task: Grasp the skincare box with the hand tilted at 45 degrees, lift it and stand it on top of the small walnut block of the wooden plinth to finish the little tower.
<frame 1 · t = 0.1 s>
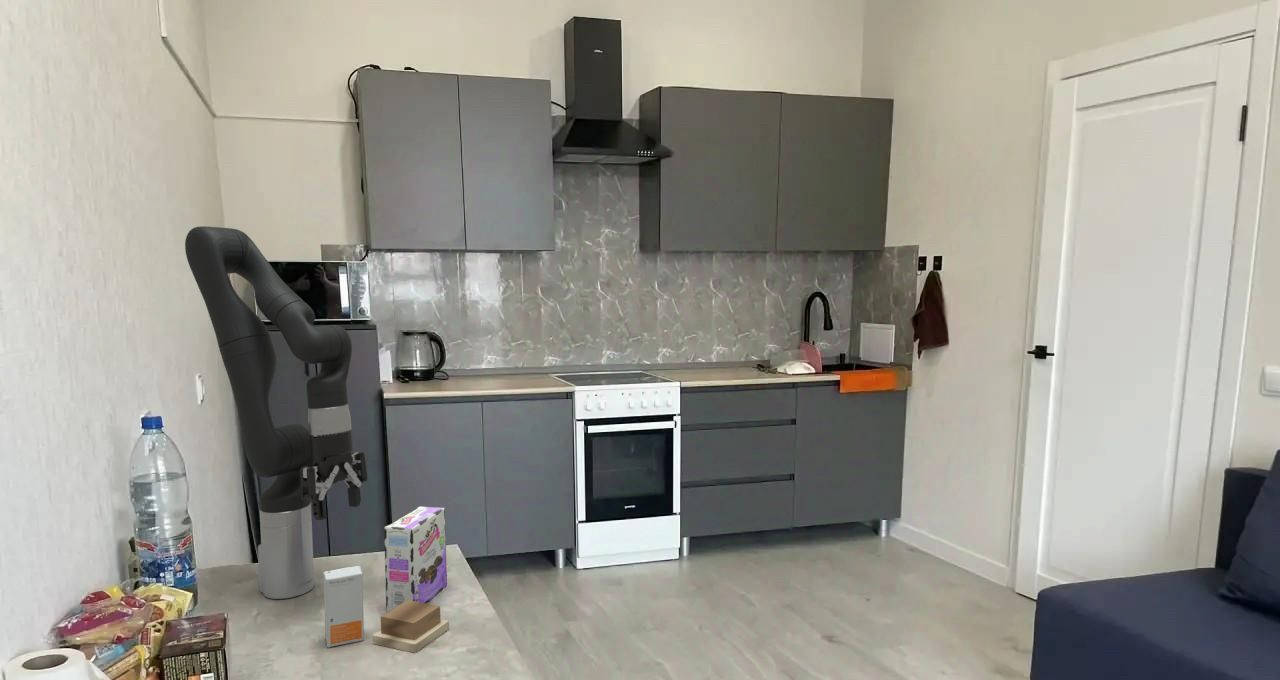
hand: (338, 512, 139), 17 cm above the table, tool pointing down, fingers open, 8 cm apart
candy box: (418, 599, 141), on the table
skincare box: (345, 640, 125), on the table
plinth: (411, 636, 126), on the table
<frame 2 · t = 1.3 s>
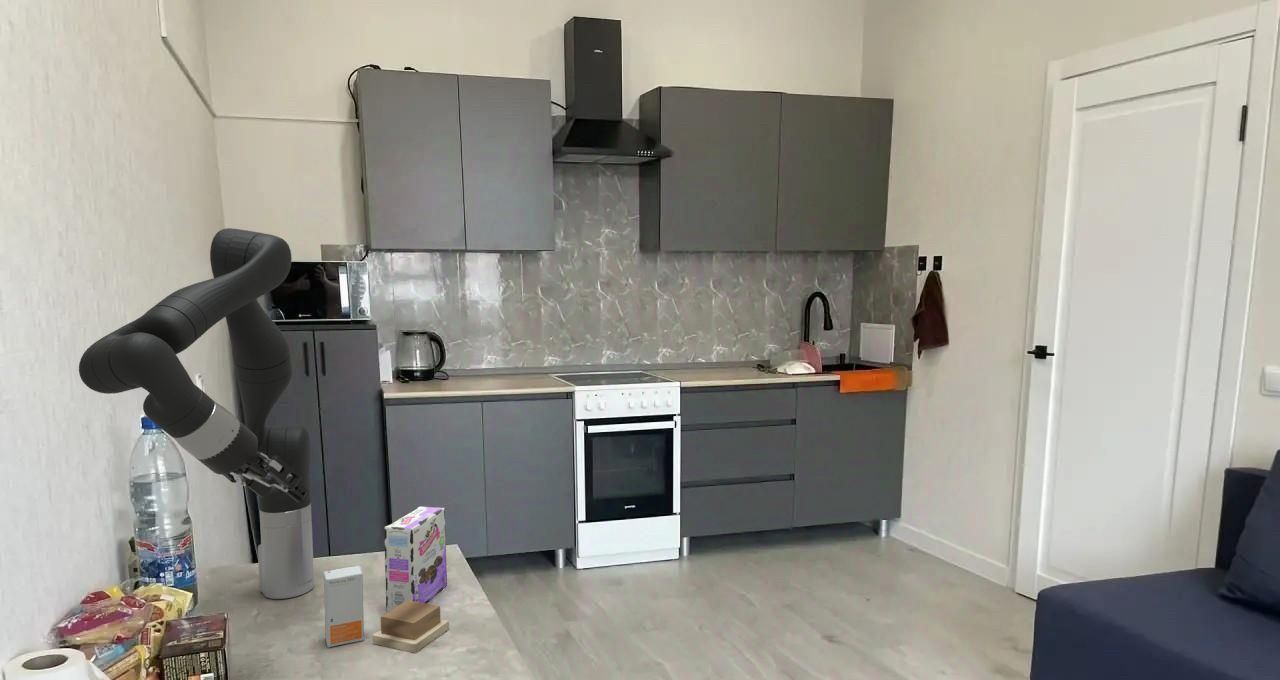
hand: (285, 495, 117), 27 cm above the table, tool tilted 45°, fingers open, 8 cm apart
nothing on the table moved.
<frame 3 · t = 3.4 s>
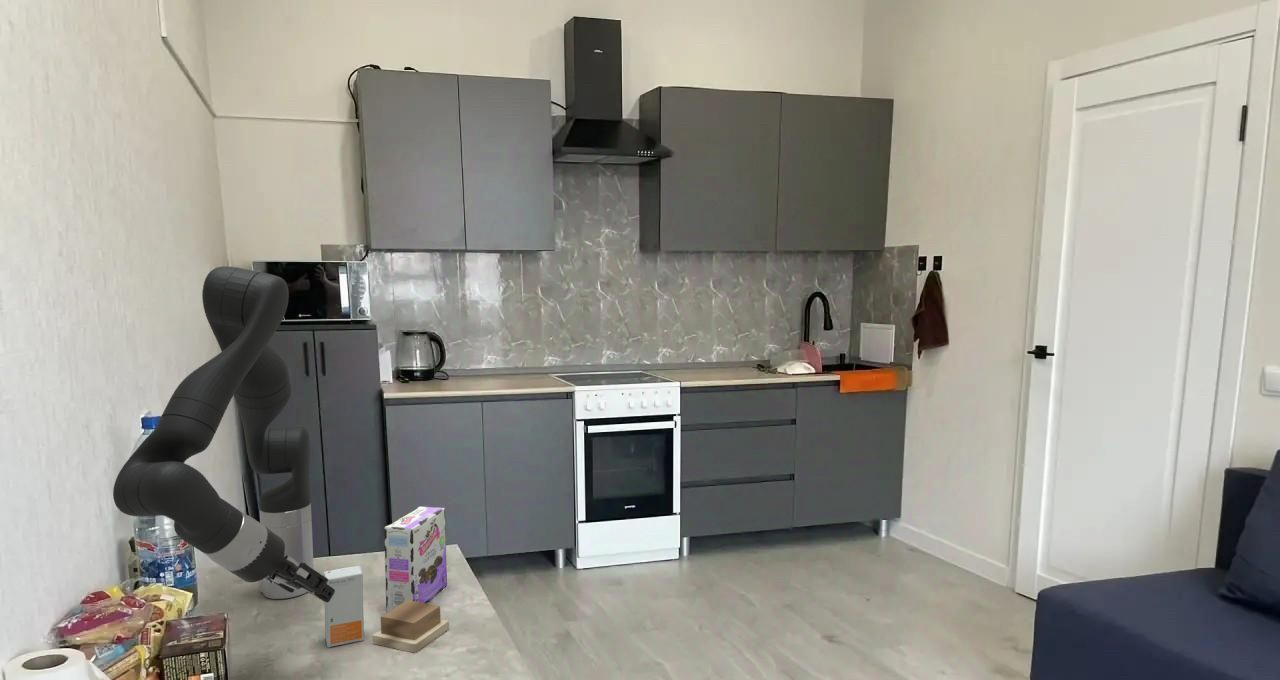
hand: (312, 591, 119), 11 cm above the table, tool tilted 45°, fingers open, 8 cm apart
nothing on the table moved.
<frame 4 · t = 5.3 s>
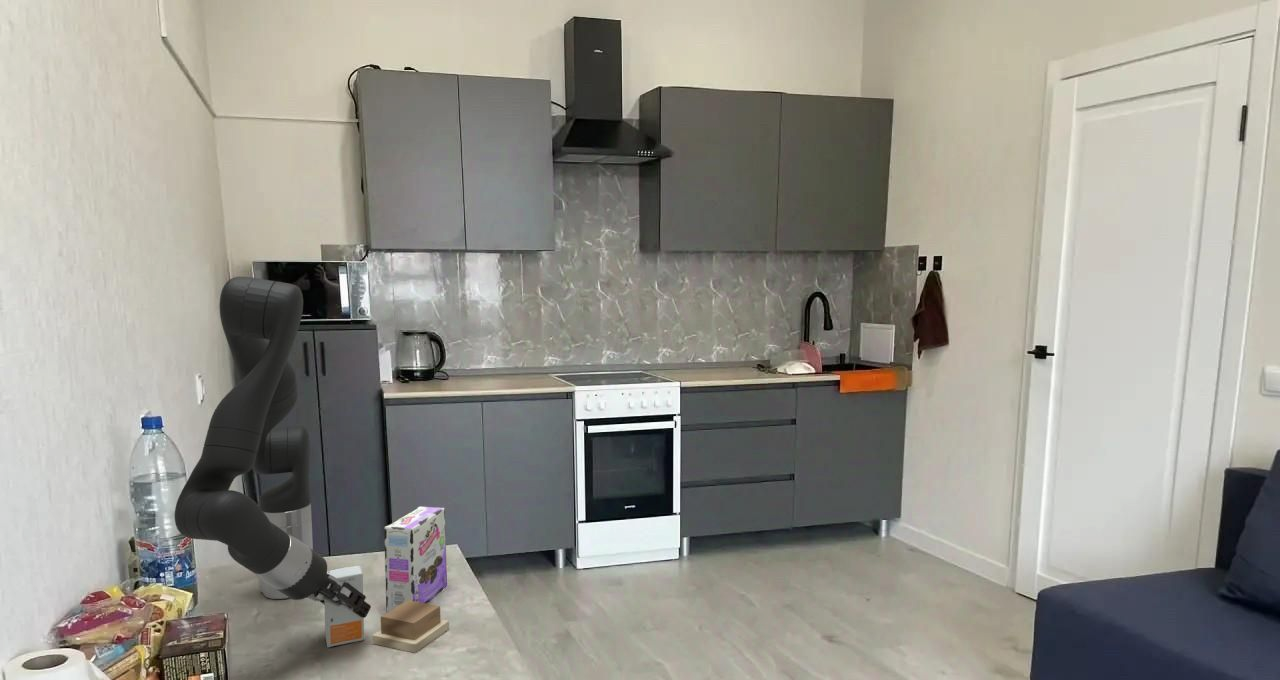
hand: (351, 607, 126), 5 cm above the table, tool tilted 45°, fingers closed on skincare box, 6 cm apart
skincare box: (345, 640, 125), on the table, touching gripper
everything else where it was.
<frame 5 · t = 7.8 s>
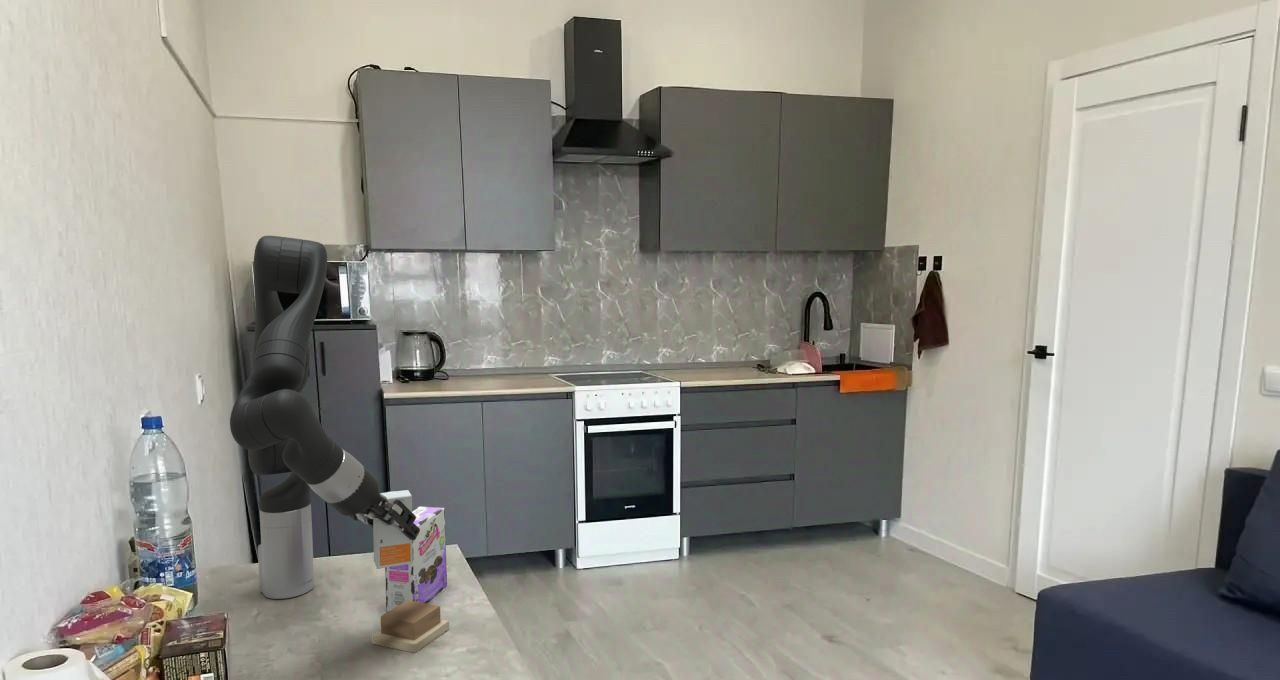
hand: (400, 531, 125), 18 cm above the table, tool tilted 45°, fingers closed on skincare box, 6 cm apart
skincare box: (393, 564, 124), point 13 cm above the table, touching gripper
everything else where it was.
when the fingers open (10 cm above the table, at t = 10.4 s): skincare box stays where it is, resting on plinth.
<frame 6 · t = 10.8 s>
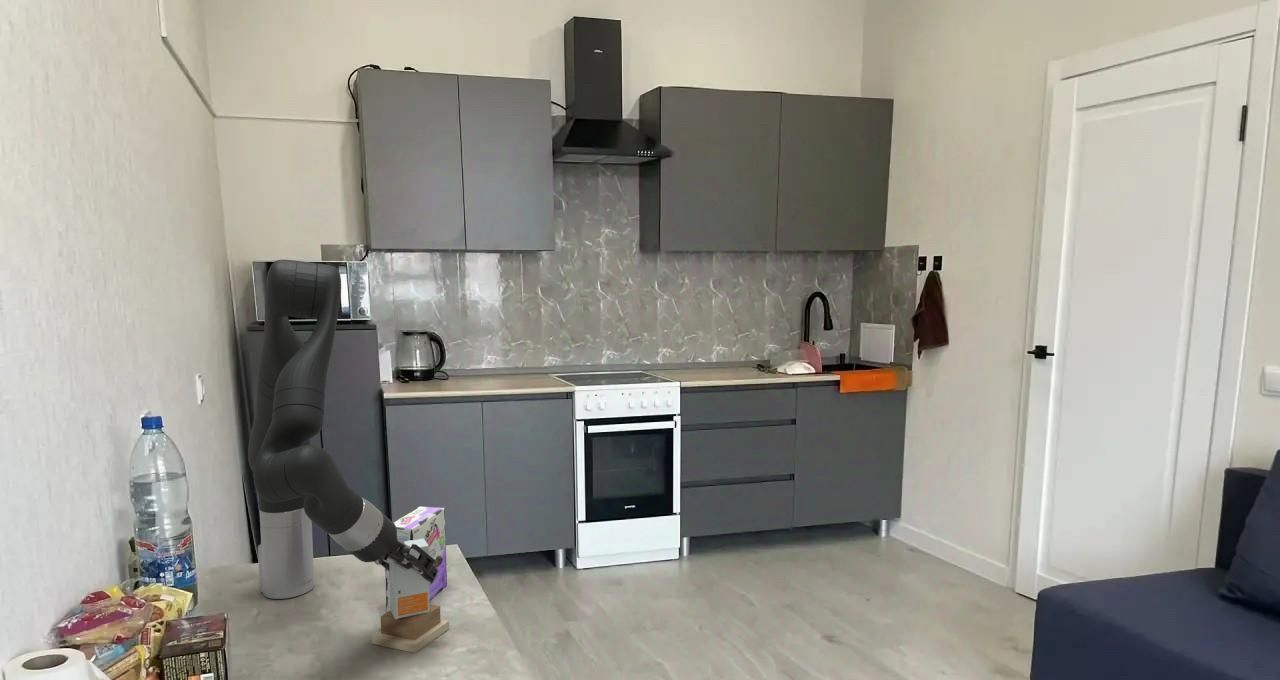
hand: (415, 572, 126), 11 cm above the table, tool tilted 45°, fingers open, 8 cm apart
skincare box: (410, 613, 125), point 4 cm above the table, touching plinth
everything else where it was.
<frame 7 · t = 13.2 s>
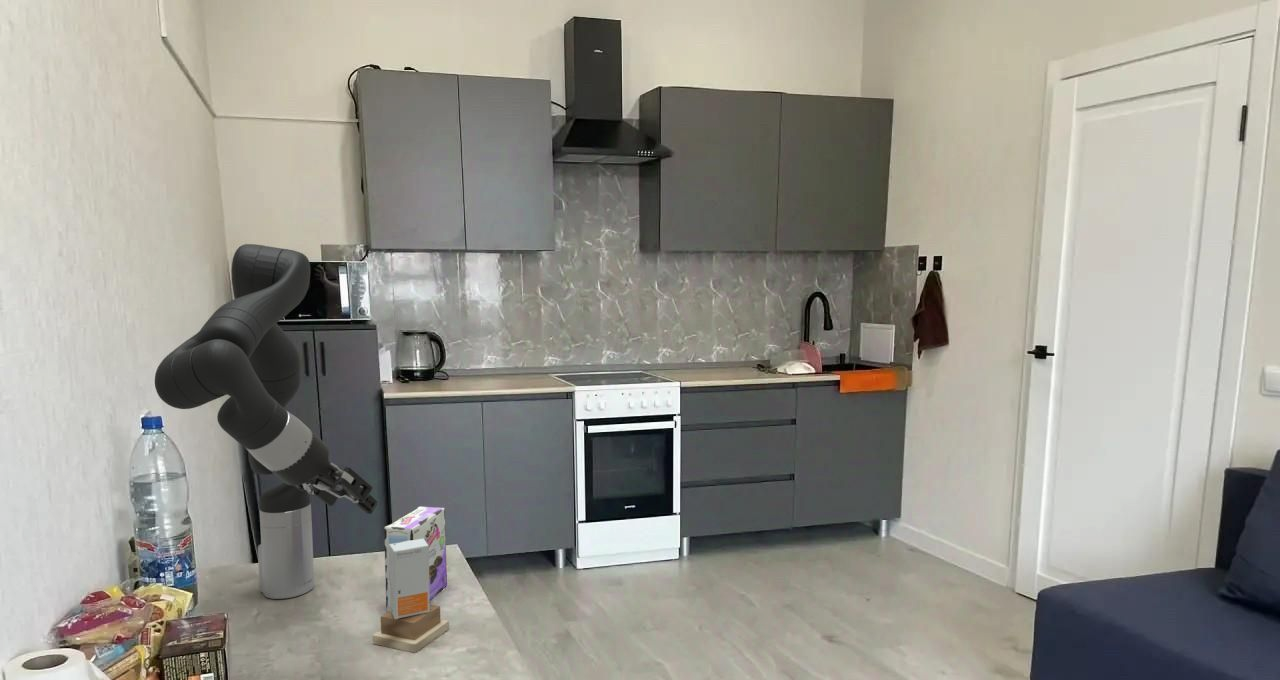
hand: (353, 504, 114), 26 cm above the table, tool tilted 45°, fingers open, 8 cm apart
nothing on the table moved.
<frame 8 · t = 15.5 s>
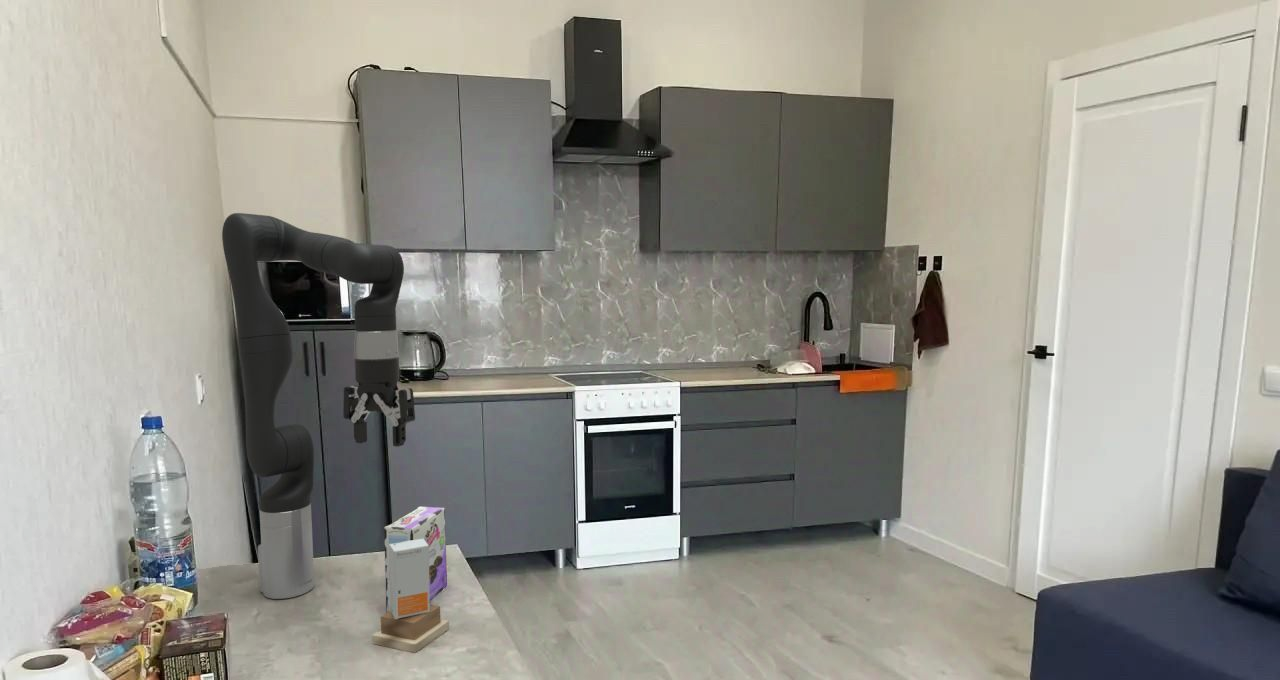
hand: (379, 444, 132), 32 cm above the table, tool pointing down, fingers open, 8 cm apart
nothing on the table moved.
at the end: skincare box inside the target area on the plinth (0.4 cm from its centre), point 4.3 cm above the plinth's base; skincare box tilted 0°; the gripper is holding nothing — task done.
